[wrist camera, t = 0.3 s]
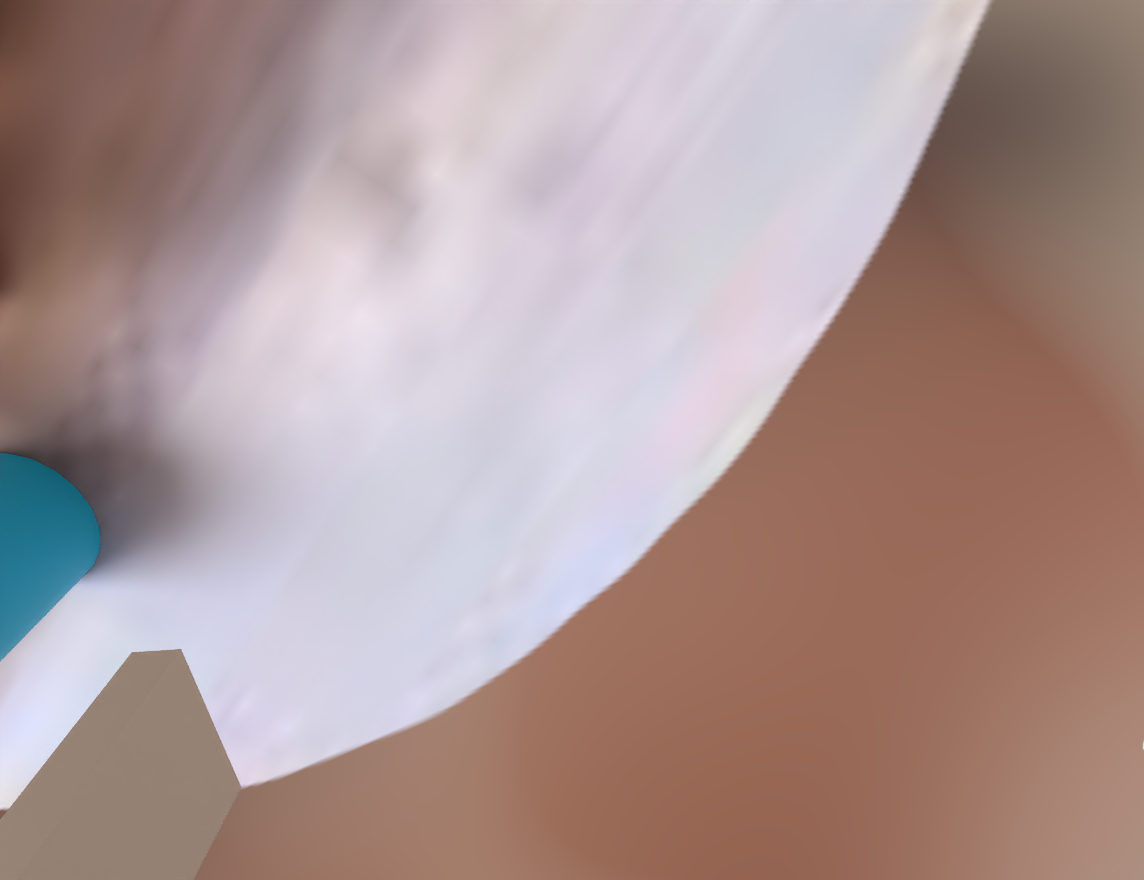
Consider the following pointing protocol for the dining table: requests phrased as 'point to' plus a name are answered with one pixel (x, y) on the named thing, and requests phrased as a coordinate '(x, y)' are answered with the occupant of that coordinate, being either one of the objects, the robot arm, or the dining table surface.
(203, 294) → the dining table surface
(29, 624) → the mug
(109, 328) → the dining table surface
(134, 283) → the dining table surface
